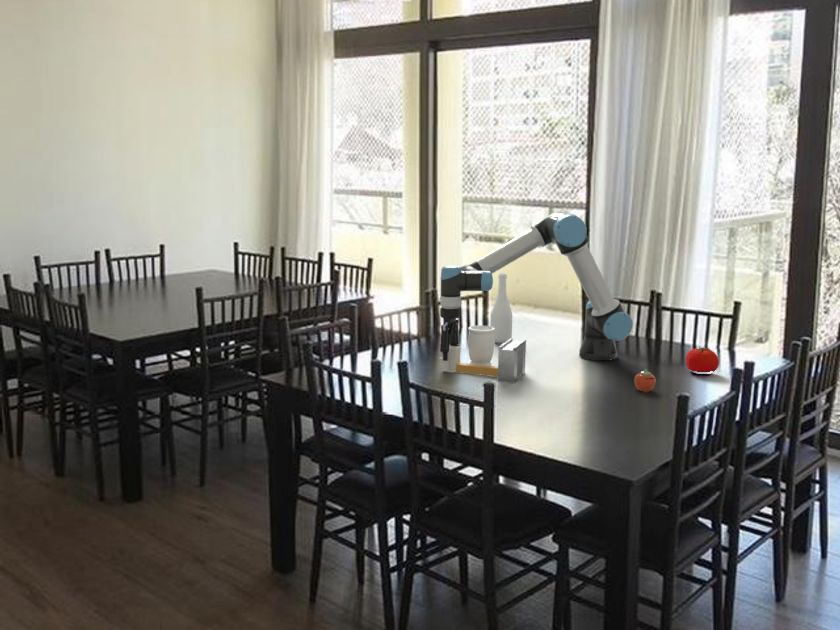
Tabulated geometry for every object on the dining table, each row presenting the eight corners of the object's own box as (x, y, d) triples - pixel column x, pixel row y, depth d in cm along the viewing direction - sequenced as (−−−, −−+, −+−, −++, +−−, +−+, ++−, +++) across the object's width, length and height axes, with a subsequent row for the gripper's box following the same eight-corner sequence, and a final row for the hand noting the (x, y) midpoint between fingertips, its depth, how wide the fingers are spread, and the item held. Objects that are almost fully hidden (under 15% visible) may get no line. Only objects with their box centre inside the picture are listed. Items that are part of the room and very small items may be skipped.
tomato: (692, 368, 340) (694, 342, 338) (723, 374, 331) (725, 348, 329) (677, 373, 332) (679, 346, 331) (708, 379, 324) (710, 352, 322)
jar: (492, 369, 334) (493, 331, 332) (465, 367, 336) (466, 329, 334) (495, 363, 345) (496, 325, 342) (469, 361, 347) (470, 324, 344)
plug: (502, 374, 328) (503, 350, 326) (499, 377, 323) (499, 353, 321) (442, 367, 336) (442, 345, 334) (438, 370, 332) (438, 347, 330)
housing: (524, 372, 330) (526, 339, 328) (513, 383, 316) (514, 348, 313) (509, 371, 332) (510, 338, 330) (497, 381, 318) (498, 346, 315)
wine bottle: (512, 343, 379) (514, 275, 374) (490, 343, 379) (492, 274, 374) (510, 338, 389) (512, 272, 383) (489, 338, 389) (491, 271, 383)
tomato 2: (642, 394, 303) (643, 372, 301) (629, 389, 309) (630, 367, 308) (659, 392, 306) (661, 370, 304) (646, 387, 312) (647, 365, 311)
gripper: (449, 302, 338) (448, 359, 343) (431, 310, 320) (430, 371, 325) (468, 303, 336) (466, 361, 340) (451, 312, 318) (449, 373, 322)
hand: (449, 366), depth 332 cm, fingers open, 7 cm apart
